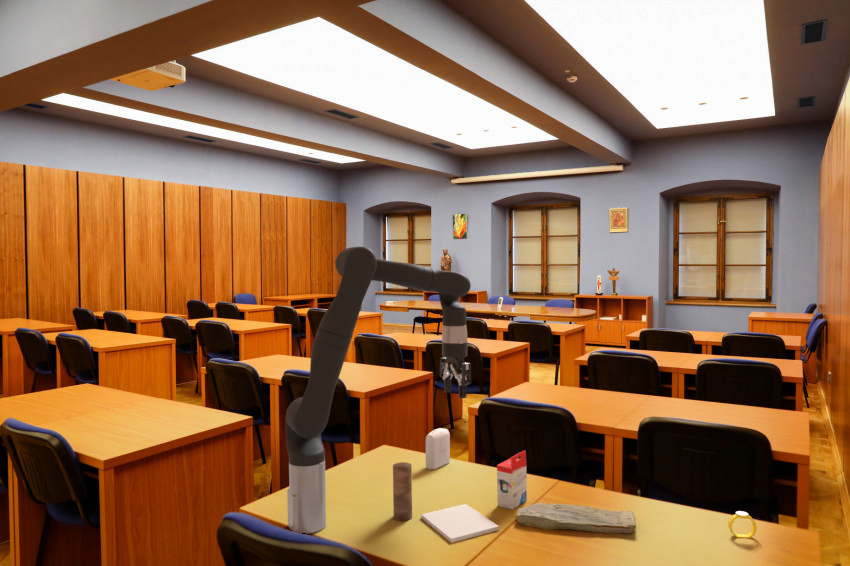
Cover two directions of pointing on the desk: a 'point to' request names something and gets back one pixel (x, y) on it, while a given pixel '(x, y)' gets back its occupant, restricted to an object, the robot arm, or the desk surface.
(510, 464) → the ink box
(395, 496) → the slanted wooden cylinder
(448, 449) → the white rounded slab
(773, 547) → the desk surface
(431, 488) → the desk surface
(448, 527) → the white mat
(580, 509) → the stone slab
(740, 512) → the gold ring
